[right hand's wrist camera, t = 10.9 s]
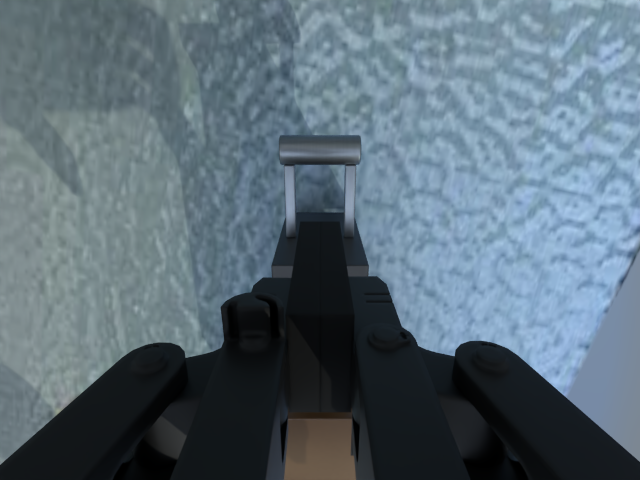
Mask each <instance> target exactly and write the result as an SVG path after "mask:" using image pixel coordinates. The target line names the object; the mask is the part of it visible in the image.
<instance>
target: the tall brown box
mask: <svg viewBox="0 0 640 480" xmlns="http://www.w3.org/2000/svg"><path fill="white" fill-rule="evenodd" d="M351 432H352V405H351V412H289V407H288V442H287V453H286V463H285V474H284V480H356V474H355V463H354V456H351Z"/></svg>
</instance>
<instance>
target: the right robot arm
mask: <svg viewBox="0 0 640 480" xmlns="http://www.w3.org/2000/svg"><path fill="white" fill-rule="evenodd" d="M221 314H222V323H223V332H224V342H223V345H222V347H221V348H220V349H218V350H216V351H214V352H210V353H207V354H203V355H198V356H193V357H188V358H185V352H184V350H183V349H182V348H181V347H180V346H178V345H175V344H172V343H153V344H148V345H145V346H142V347H140V348H137V349H135V350H133V351H131V352H130V353H128V354H127V355H125V356H124V357H122V358H121V359H120V360H119V361H118V362H117V363H116V364H114V365H113V366H112V367H111V368H110V369H109V370H108V371H106V372H105V373H104V374H103V375H102V376H101V377H100V378H99V379H97V380H96V381H95V382H94V383H93V384H92V385H91V386H89V387H88V388H87V389H86V390H85V391H84V392H83V393H81V394H80V395H79V396H78V397H77V398H76V399H75V400H74V401H72V402H71V403H70V404H69V405H68V406H67V407H66V408H64V409H63V410H62V411H61V412H60V413H59V414H58V415H56V416H55V417H54V418H53V419H52V420H51V421H50V422H49V423H47V424H46V425H45V426H44V427H43V428H42V429H41V430H39V431H38V432H37V433H36V434H35V435H34V436H33V437H31V438H30V439H29V440H28V441H27V442H26V443H25V444H24V445H22V446H21V447H20V448H19V449H18V450H17V451H16V452H14V453H13V454H12V455H11V456H10V457H9V458H8V459H6V460H5V461H4V462H3V463H2V464H1V465H0V480H284V474H285V463H286V453H287V442H288V407H289V412H351V405H352V432H351V456H354V463H355V474H356V480H640V462H639V461H638V460H637V459H636V458H635V457H633V456H632V455H631V454H630V453H629V452H628V451H627V450H625V449H624V448H623V447H622V446H621V445H620V444H619V443H617V442H616V441H615V440H614V439H613V438H612V437H611V436H609V435H608V434H607V433H606V432H605V431H604V430H602V429H601V428H600V427H599V426H598V425H597V424H596V423H594V422H593V421H592V420H591V419H590V418H589V417H588V416H586V415H585V414H584V413H583V412H582V411H581V410H580V409H578V408H577V407H576V406H575V405H574V404H573V403H572V402H570V401H569V400H568V399H567V398H566V397H565V396H564V395H562V394H561V393H560V392H559V391H558V390H557V389H556V388H554V387H553V386H552V385H551V384H550V383H549V382H548V381H546V380H545V379H544V378H543V377H542V376H541V375H540V374H538V373H537V372H536V371H535V370H534V369H533V368H532V367H530V366H529V365H528V364H527V363H526V362H525V361H524V360H522V359H521V358H520V357H519V356H518V355H516V354H515V353H513V352H512V351H510V350H509V349H507V348H505V347H502V346H500V345H497V344H495V343H491V342H485V341H469V342H466V343H463V344H461V345H460V346H459V347H458V348H457V349H456V351H455V356H450V355H445V354H440V353H436V352H432V351H429V350H426V349H423V348H421V347H419V346H418V344H417V342H416V339H415V338H414V337H413V335H412V334H411V333H410V332H409V331H407V330H406V329H404V328H403V327H402V326H401V323H400V321H399V318H398V315H397V312H396V309H395V307H394V304H393V303H392V298H391V296H390V293H389V290H388V287H387V284H386V283H384V282H383V281H382V280H381V279H379V278H378V277H377V276H348V270H347V264H346V258H345V252H344V245H343V239H342V233H341V227H340V221H300V227H299V233H298V239H297V245H296V252H295V258H294V264H293V270H292V277H291V278H262V279H261V280H260V281H258V282H257V283H256V284H255V285H254V286H253V289H252V291H251V293H244V294H241V295H237V296H234V297H232V298H231V299H229V300H227V301H226V302H225V303H224V304H223V305H222V306H221Z"/></svg>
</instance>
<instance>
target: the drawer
mask: <svg viewBox="0 0 640 480" xmlns="http://www.w3.org/2000/svg"><path fill="white" fill-rule="evenodd" d="M279 158H280V163H281V164H282V165H284V180H285V209H286V218H285V221H284V225H283V228H282V232H281V235H280V238H279V242H278V245H277V249H276V252H275V256H274V259H273V263H272V278H291V277H292V270H293V264H294V258H295V252H296V245H297V239H298V233H299V227H300V221H340V227H341V233H342V239H343V245H344V252H345V258H346V264H347V270H348V276H368V270H369V265H368V262H367V258H366V255H365V251H364V248H363V245H362V241H361V238H360V234H359V231H358V228H357V224H356V221H355V217H354V215H355V185H356V165H359V164H360V160H361V137H360V136H359V135H281V136H280V138H279ZM295 165H345V188H344V213H296V181H295Z"/></svg>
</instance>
